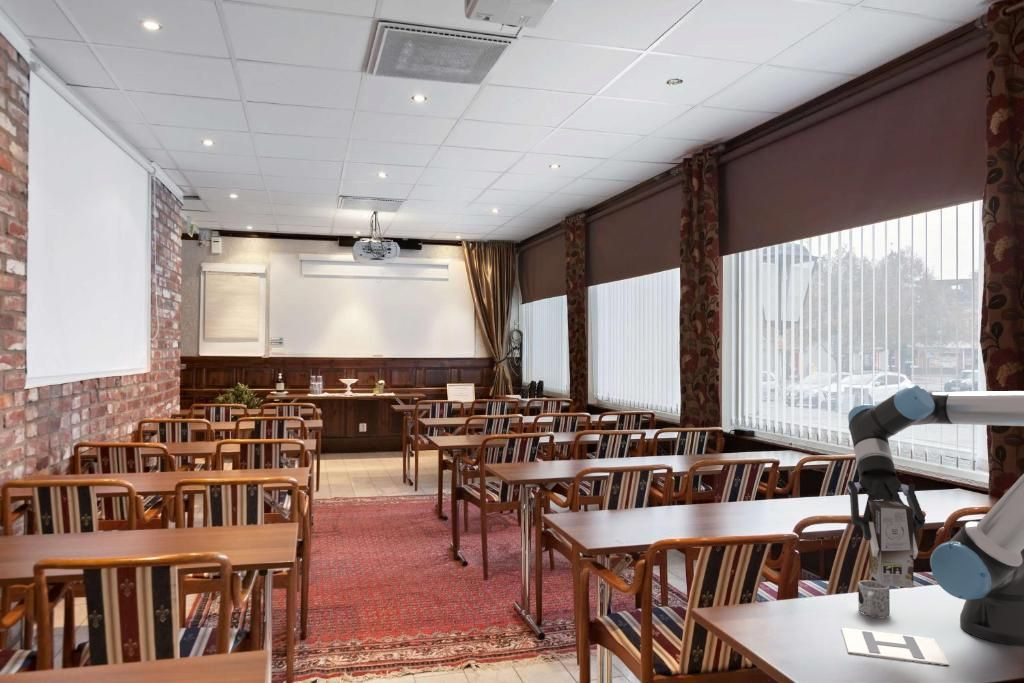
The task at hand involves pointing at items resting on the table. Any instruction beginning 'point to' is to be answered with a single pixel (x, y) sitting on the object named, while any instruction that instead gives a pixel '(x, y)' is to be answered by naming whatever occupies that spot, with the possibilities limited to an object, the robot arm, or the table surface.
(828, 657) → the table surface
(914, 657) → the letter card
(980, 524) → the robot arm
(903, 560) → the coffee box
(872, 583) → the mug
